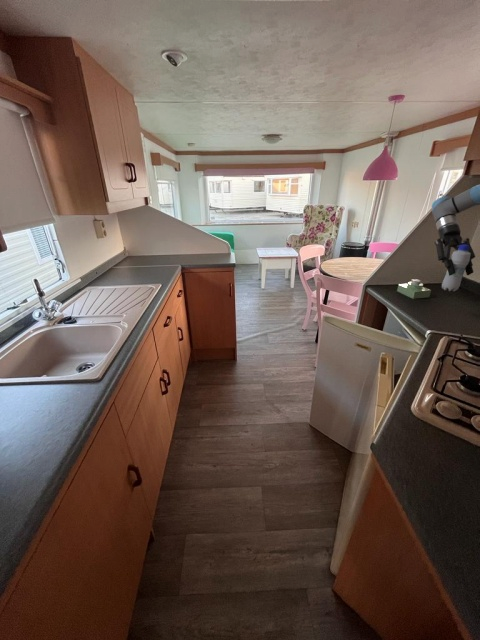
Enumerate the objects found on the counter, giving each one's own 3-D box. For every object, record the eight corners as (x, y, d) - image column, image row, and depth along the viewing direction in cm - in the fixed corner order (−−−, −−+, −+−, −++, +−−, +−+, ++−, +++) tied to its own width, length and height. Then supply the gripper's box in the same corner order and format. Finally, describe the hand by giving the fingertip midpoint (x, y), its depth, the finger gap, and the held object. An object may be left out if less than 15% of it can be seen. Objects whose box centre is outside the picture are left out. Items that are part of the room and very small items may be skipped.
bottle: (439, 286, 124) (454, 242, 115) (457, 288, 121) (473, 243, 112) (440, 290, 119) (455, 245, 110) (459, 293, 116) (476, 246, 107)
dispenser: (429, 297, 142) (432, 286, 139) (412, 298, 140) (416, 288, 137) (412, 289, 152) (415, 279, 150) (396, 291, 151) (399, 281, 148)
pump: (421, 285, 142) (422, 281, 141) (414, 285, 142) (416, 281, 141) (415, 283, 146) (416, 278, 145) (409, 283, 145) (410, 279, 144)
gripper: (464, 233, 123) (477, 277, 116) (420, 234, 124) (431, 278, 117) (477, 222, 116) (492, 269, 109) (431, 223, 117) (443, 269, 110)
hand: (461, 273), depth 113 cm, fingers closed on bottle, 7 cm apart
